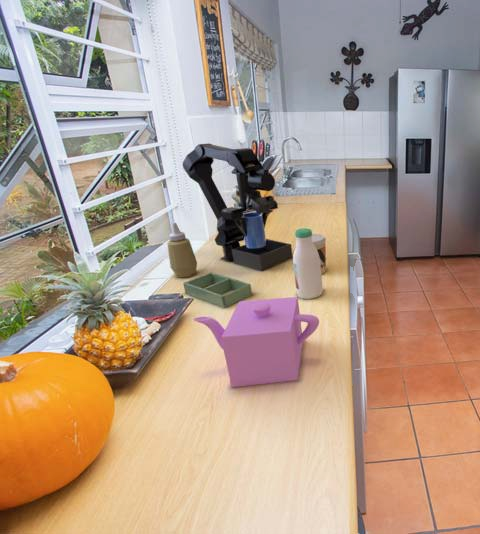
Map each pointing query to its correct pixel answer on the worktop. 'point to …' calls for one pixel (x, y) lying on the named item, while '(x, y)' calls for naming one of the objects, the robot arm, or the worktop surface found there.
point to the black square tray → (262, 255)
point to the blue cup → (255, 230)
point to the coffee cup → (320, 249)
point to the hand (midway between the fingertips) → (254, 233)
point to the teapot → (263, 340)
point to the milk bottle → (307, 266)
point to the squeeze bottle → (181, 253)
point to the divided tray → (218, 289)
